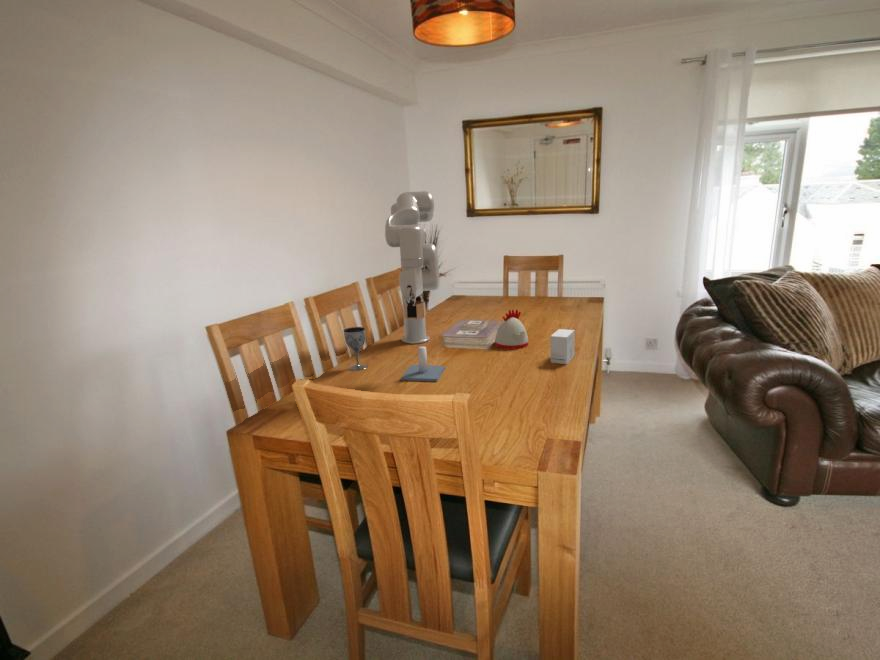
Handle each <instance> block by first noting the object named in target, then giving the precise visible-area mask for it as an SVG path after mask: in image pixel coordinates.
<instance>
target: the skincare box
mask: <svg viewBox="0 0 880 660" xmlns="http://www.w3.org/2000/svg"><path fill="white" fill-rule="evenodd" d="M575 331H576V330H575V329H565V328H559V329H557V330H556V331H554V333H553V334H551V335H550V363H552V364H562V365H568V364H569V363H570V362H571V361H572V360H573V358H574V357H575V355H576V354H575V338H576V337H575Z"/></svg>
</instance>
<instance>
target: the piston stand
mask: <svg viewBox="0 0 880 660" xmlns="http://www.w3.org/2000/svg"><path fill="white" fill-rule="evenodd" d="M417 356H418V365H417V364H410V366H409V367H408V368H407V369H406V371H405V372H404V373H403V374H402V376H401V377H400V381H404V380H407V382H433V381H438V382H439V380H440V379H441V376H442V375H441V374H443V373H444V371H445V369H446V366H445V365H428V355H427V347H426V346H419V347H417Z"/></svg>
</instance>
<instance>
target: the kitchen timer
mask: <svg viewBox="0 0 880 660" xmlns="http://www.w3.org/2000/svg"><path fill="white" fill-rule="evenodd" d="M521 313H522V312H521V311H519V310H518V309H517V308H516V309H515V310H514V309H509V310H508V313H507V312H505V316H503V315H502V319H503V321H502V322H501V323H500V325H499V326H498V328H497V330H496V334H495V338H494V345H495V347H497V348H499V349H503V348H505V349H504V350H518V349H519V348H521V349H524V348H526V347H528V346H529V337H528V333H527V330H526V328H525V326H524V324H523V323H522V321H521V320H519V317H520V316H521ZM519 350H520V349H519Z"/></svg>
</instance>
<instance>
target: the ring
mask: <svg viewBox="0 0 880 660" xmlns="http://www.w3.org/2000/svg"><path fill="white" fill-rule="evenodd" d="M415 306H416V309H417V317H416V318H408V316H407V302H405V303H404V314H405V318H407V319H420V318H424V317H425V318H426V317H427V309H426V301H415Z"/></svg>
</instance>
